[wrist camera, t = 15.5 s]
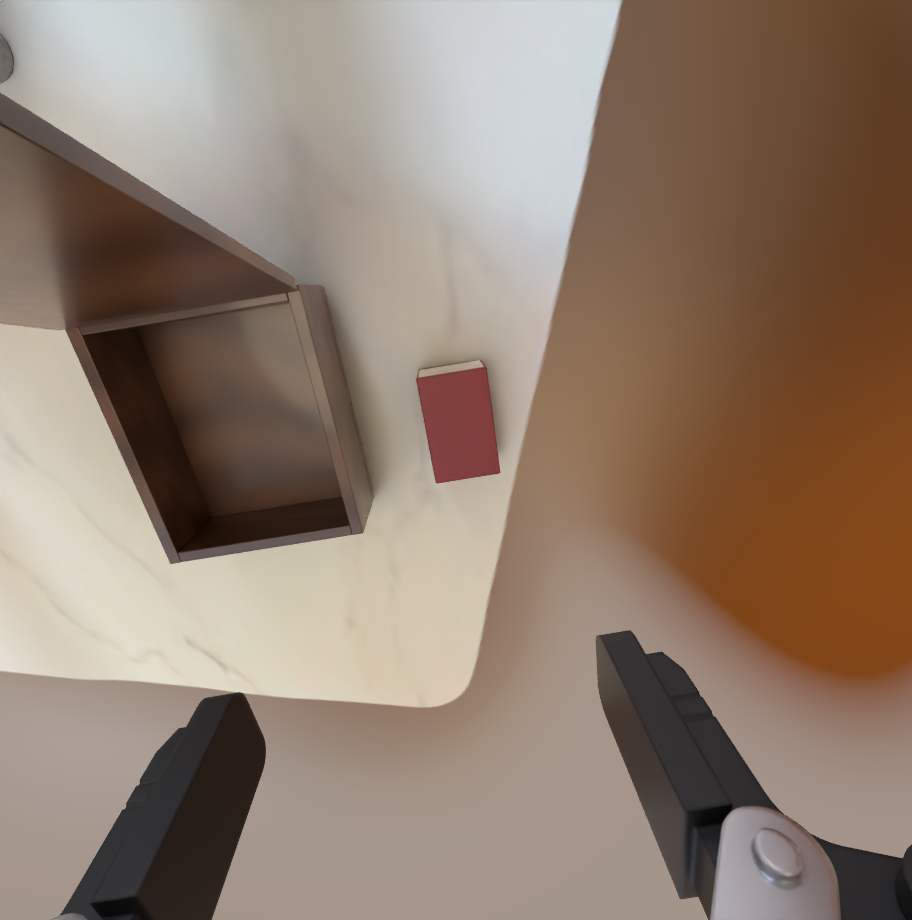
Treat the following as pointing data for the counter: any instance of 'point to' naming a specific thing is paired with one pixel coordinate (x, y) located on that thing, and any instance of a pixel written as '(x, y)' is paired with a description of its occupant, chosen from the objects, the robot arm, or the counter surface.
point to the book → (459, 421)
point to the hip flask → (5, 60)
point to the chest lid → (104, 238)
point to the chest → (233, 422)
